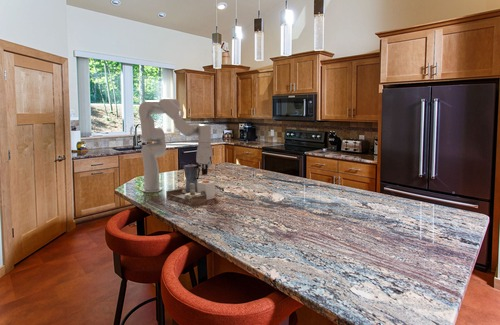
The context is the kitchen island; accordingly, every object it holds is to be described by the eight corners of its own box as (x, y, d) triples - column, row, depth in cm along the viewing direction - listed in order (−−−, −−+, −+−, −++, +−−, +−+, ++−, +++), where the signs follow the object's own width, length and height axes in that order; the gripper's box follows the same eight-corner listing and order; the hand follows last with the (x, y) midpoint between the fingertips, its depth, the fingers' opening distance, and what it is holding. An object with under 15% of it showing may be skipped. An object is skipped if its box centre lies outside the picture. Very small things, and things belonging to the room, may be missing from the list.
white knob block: (197, 198, 202) (196, 182, 201) (206, 195, 208) (205, 180, 206) (205, 200, 197) (205, 184, 195) (214, 197, 203) (214, 182, 201)
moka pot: (189, 188, 227) (188, 160, 224) (206, 191, 218) (205, 162, 215) (179, 191, 219) (178, 161, 216) (196, 194, 210) (195, 164, 207)
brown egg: (201, 187, 201) (201, 180, 201) (206, 186, 204) (206, 179, 204) (205, 188, 199) (205, 181, 198) (210, 187, 202) (210, 180, 201)
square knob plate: (184, 199, 193) (183, 184, 192) (193, 196, 199) (193, 182, 197) (191, 201, 189) (191, 186, 187) (201, 198, 194) (200, 183, 193)
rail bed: (166, 198, 202) (166, 191, 201) (181, 194, 210) (180, 187, 209) (192, 205, 186) (191, 198, 185) (206, 201, 194) (206, 194, 194)
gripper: (191, 144, 199) (192, 173, 203) (208, 146, 190) (208, 177, 193) (201, 143, 205) (201, 172, 208) (217, 145, 195) (217, 175, 199)
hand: (204, 174), depth 201 cm, fingers closed
